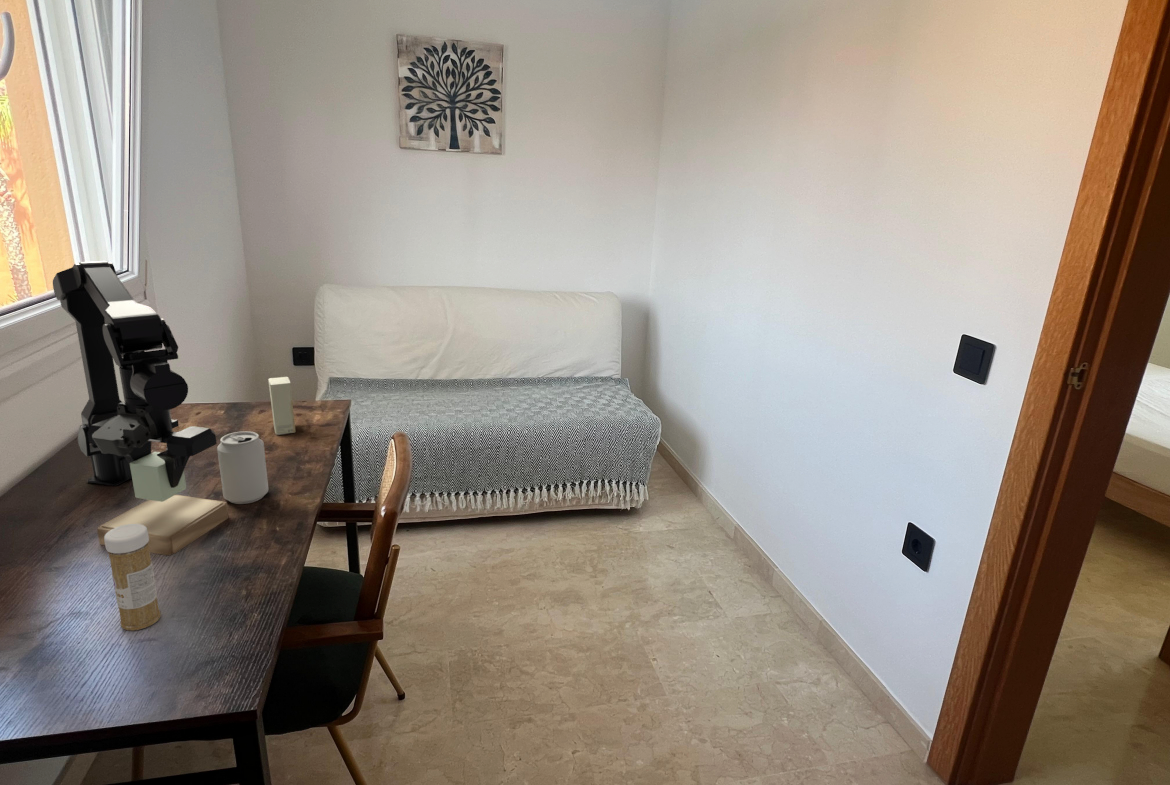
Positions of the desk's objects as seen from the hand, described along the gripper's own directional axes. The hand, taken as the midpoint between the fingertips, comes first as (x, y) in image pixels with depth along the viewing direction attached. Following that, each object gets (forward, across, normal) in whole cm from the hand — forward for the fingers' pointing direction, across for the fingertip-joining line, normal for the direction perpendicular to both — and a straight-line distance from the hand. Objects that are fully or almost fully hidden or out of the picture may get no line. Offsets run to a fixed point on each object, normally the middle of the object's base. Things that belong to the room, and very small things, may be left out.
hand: (160, 484), depth 107 cm
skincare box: (+8, -10, +46) cm, 48 cm away
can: (+8, +4, +14) cm, 17 cm away
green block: (+2, 0, 0) cm, 2 cm away
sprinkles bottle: (+8, +15, -21) cm, 27 cm away
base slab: (+8, 0, 0) cm, 8 cm away
